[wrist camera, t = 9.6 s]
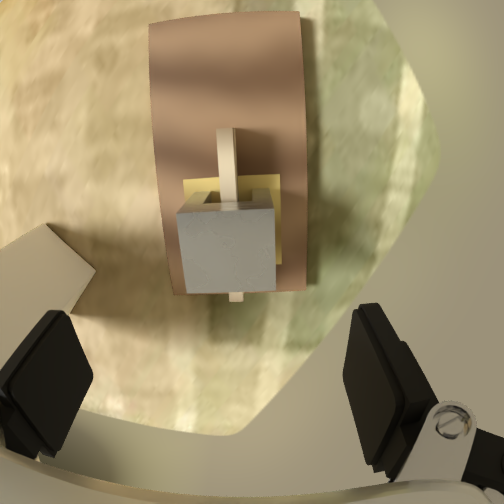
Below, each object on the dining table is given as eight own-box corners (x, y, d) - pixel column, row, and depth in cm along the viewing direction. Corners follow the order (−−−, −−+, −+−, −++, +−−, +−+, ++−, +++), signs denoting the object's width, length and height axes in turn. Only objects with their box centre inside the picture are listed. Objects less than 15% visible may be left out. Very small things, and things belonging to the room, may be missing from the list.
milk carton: (69, 314, 29) (-27, 452, 11) (22, 271, 27) (-94, 382, 9) (97, 270, 27) (-27, 425, 9) (44, 221, 25) (-107, 332, 7)
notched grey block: (194, 191, 23) (175, 213, 17) (269, 187, 23) (274, 208, 17) (201, 255, 25) (186, 293, 19) (270, 252, 25) (276, 290, 19)
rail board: (153, 28, 19) (135, 12, 15) (297, 16, 19) (305, -4, 15) (176, 288, 27) (165, 314, 23) (304, 283, 27) (311, 309, 23)
